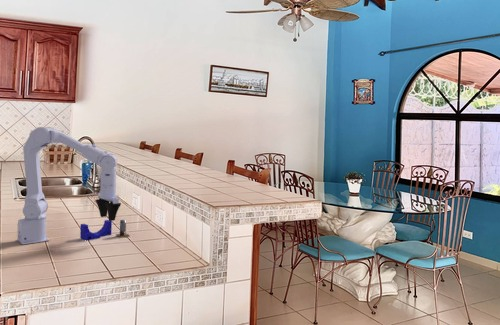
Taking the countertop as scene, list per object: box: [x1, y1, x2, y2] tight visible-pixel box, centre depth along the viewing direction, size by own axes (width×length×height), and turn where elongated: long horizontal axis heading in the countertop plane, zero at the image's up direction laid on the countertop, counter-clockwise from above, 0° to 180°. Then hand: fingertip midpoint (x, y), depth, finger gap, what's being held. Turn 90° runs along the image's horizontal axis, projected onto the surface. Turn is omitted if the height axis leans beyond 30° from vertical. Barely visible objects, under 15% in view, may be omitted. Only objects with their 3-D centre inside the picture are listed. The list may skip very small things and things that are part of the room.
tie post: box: [115, 219, 130, 239], centre depth 166 cm, size 4×4×7 cm
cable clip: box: [79, 219, 113, 242], centre depth 163 cm, size 12×4×6 cm, turn 141°
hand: (107, 218), depth 158 cm, fingers open, 7 cm apart
